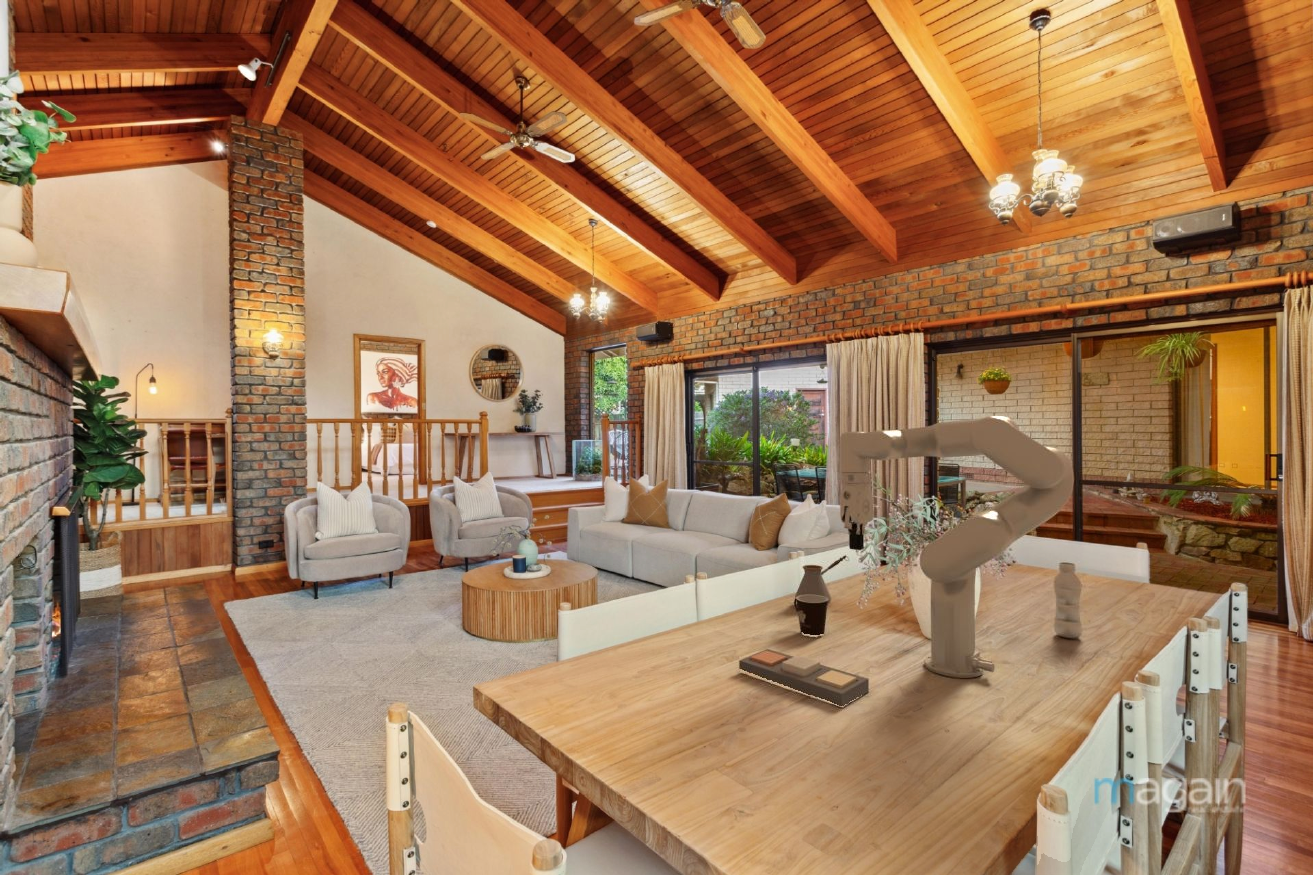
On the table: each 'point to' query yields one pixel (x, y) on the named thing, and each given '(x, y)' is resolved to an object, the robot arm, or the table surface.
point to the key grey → (801, 666)
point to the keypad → (807, 680)
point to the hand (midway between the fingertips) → (856, 549)
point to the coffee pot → (815, 580)
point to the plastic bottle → (1067, 602)
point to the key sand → (836, 679)
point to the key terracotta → (768, 658)
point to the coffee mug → (811, 613)
